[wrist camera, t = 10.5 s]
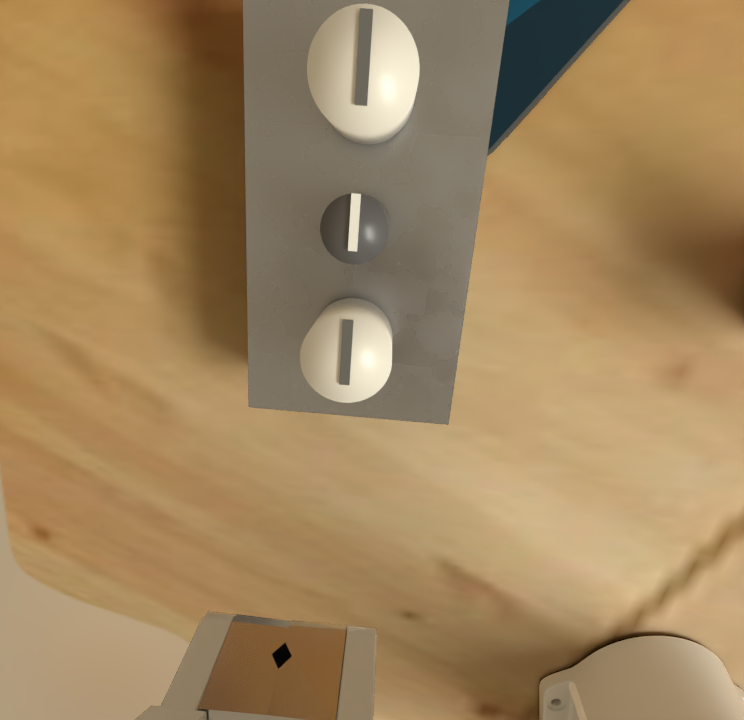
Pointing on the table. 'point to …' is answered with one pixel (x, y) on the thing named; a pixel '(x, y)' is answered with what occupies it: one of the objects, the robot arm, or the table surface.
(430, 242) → the console
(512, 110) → the smartphone
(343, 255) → the pot dial
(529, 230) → the table surface
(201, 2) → the table surface
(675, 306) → the table surface
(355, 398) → the knob
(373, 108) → the knob
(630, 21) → the table surface
